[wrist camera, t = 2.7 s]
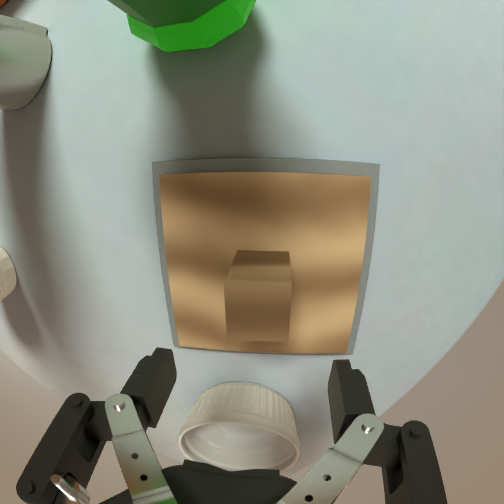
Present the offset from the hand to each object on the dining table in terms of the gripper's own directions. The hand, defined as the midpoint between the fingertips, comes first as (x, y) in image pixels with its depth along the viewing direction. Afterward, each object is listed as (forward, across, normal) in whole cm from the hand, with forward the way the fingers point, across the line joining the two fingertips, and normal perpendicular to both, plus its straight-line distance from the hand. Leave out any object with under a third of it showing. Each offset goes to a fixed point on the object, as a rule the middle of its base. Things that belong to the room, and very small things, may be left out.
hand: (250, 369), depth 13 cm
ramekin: (+13, +2, +19) cm, 23 cm away
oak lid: (+12, 0, 0) cm, 12 cm away
